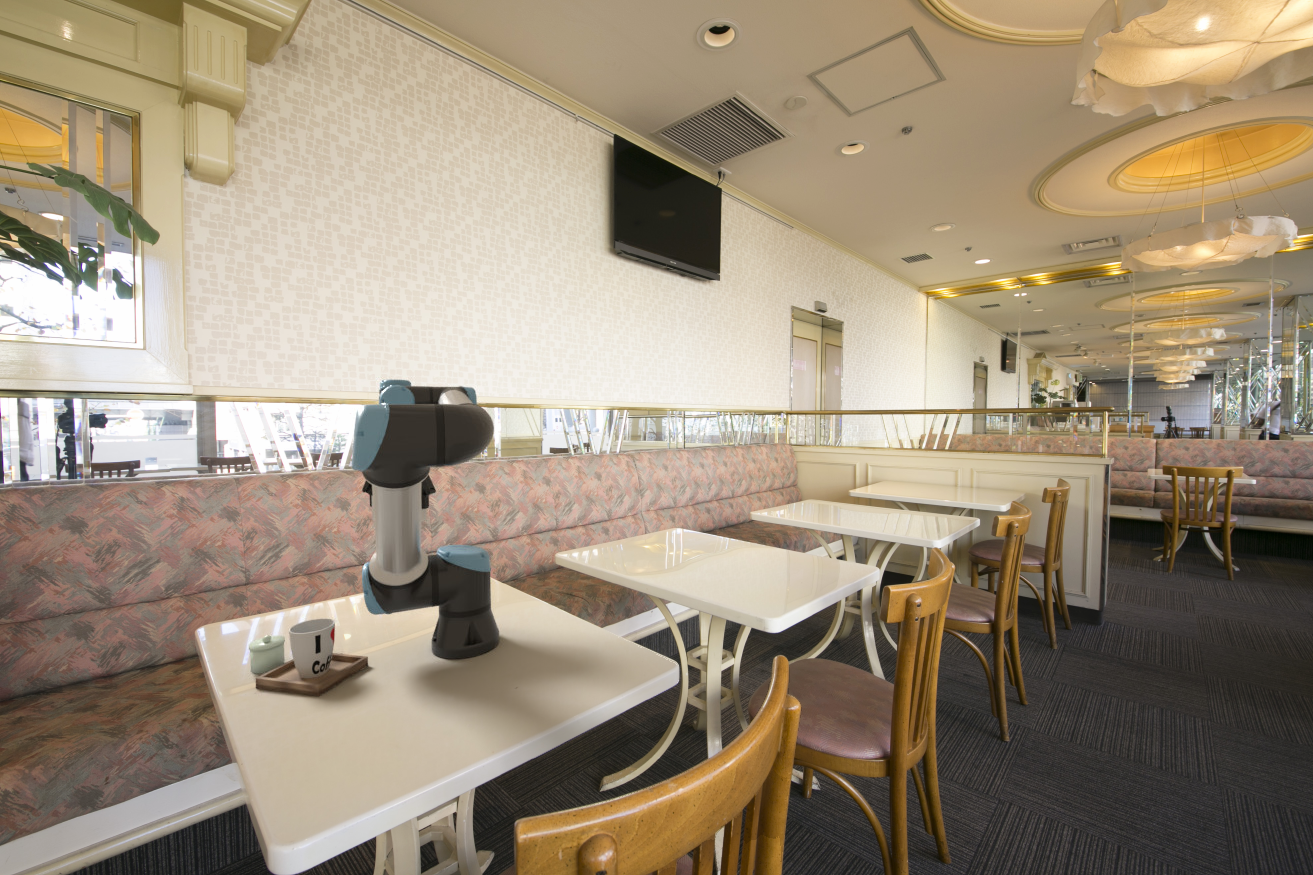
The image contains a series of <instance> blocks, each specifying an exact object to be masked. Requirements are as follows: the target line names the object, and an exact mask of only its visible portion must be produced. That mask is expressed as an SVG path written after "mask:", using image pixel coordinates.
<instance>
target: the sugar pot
mask: <svg viewBox="0 0 1313 875" xmlns="http://www.w3.org/2000/svg"><path fill="white" fill-rule="evenodd" d="M285 642H286V637H285V636H282V635H270V634H269V635H268V634H267V635H264V636H263V637H261V638H257V639H256V640H253V641H251V642H250V643H249V644H248V650H249V659H250V660H249V661H250V672H251V673H252V674H257V675H259V674H260V675H262V674H265V673H267V672H269V671H271V670H273V669H275V668H277V667H279V666H281V665H283V664H285V663H286V661H285V660H286V659H285Z"/></svg>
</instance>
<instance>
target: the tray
mask: <svg viewBox="0 0 1313 875" xmlns="http://www.w3.org/2000/svg"><path fill="white" fill-rule="evenodd" d="M368 666H369V656H365V655H364V656H363V655H355V654H345V653H338V652H337V653H336V652H333V654H332V659H331V663H330V666H329V669H328V671H327V672H326V673H325V674H323V675H321V676H318V677H315V678H308V679H305V678H301V677H300V676H299V673H298V671H297V669H296V667H295V664H294V660H293V658H292V659H291V660H288V661H287V662H286V661H285V664H283V665H281V666H279V667H277V668H275V669H273V670H271V671H269V672H267V673H262V674H260V675H259V676H257V677H256V678H255V688H256V689H260V690H261V689H262V690H267V691H277V692H285V693H291V694H299V695H306V696H313V697H314V696H315V697H320V696H321V695H324V694H325V693H326V692H328V691H330V690H332V689H333V688H335V687H336V686H338V685H340V684H341V683H343V682H344V681H346V680H347V679H349V678H351V677H352V676H354V675H356V674H357V673H359V672H361V671H362V670H364V669H365V668H367V667H368Z"/></svg>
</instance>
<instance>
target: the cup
mask: <svg viewBox="0 0 1313 875" xmlns="http://www.w3.org/2000/svg"><path fill="white" fill-rule="evenodd" d="M335 624H336V621H335V620H334V619H333V618H327V617H326V618H324V617H323V618H315V619H314V618H313V619H308V620H305V621H302V622H299V623H296V624H294V625H292V626H291V627H290V628H289V629H288V635H289V636H288V637H289V643H290V652H291V654H292V659H293V660H294V664H295V667H296V669H297V671H298V673H299V676H300V677H301V678H305V679H308V678H315V677H318V676H321V675H323V674H325V673H326V672H327V671H328V669H329V666H330V663H331V659H332V654H333V653H334V648H335V635H336V634H335V633H336V630H335V629H336V625H335Z"/></svg>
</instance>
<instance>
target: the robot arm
mask: <svg viewBox="0 0 1313 875" xmlns="http://www.w3.org/2000/svg"><path fill="white" fill-rule="evenodd" d="M378 392H379V396H378V404H377V403H376V404H364V405H362V406H360V407H359V408H358V409H357V410H356V413H355V422H354V430H353V432H354V433H353V444H352V458H351V468H352V470H354V471H357V472H361V474H362V477H363V478H364V480H365V482H364V485H363V486H362V489H361V490H362V493H366V494H367V495H368V496H369V507H370V508H371V519H372V521H373V523H374V525H373V526H374V539H375V540H374V541H375V552H374V553H373V555H372V556H371V558H370V560H369V561H367V562H365V563H364V564H363V566H362V572H361V583H362V584H361V585H362V592H363V599H364V604H365V606H366V609H367V611H368V612H369V613H370V614H371V615H375V616H376V615H392V614H395V613H401V612H407V611H409V612H410V611H414V610H420V609H428V608H433V607H438V618H437V621H436V625H435V628H434V630H433V634H432V638H431V653H433V655H435V656H437V657H440V658H443V659H450V660H451V659H456V660H457V659H466V658H472V657H476V656H479V655H483V654H485V653H488V652H490V651H492V650H493V649H495V648H496V647H497V646H498V645H499V643H500V630H499V628H498V624H497V622H496V619H495V616H494V614H493V610H492V591H491V590H492V588H491V586H492V585H491V583H492V582H491V572H492V567H491V559H490V554H489V552H488V550H486V549H484V548H483V547H480V546H477V545H469V544H448V545H442V546H440V547H438V548H437V551H436V554H427V552H426V551H425V550H424V549H423V548H422V523H423V522H426V521H428V512H427V511H428V509H429V507H430V496H431V495H433V494H436V492H437V491H436V490H437V489H436V488H435V486H434V484H433V481H432V479H431V476H430V472H431V468H438V467H439V468H443V467H453V466H458V465H461V464H464V463H467V462H469V461H471V460H473V459H475V458H476V457H477V456H480V454H481V453H483V452H484V451H485V450H486V449H487V448H488V447H489V445H490V444H491V441H492V440H493V438H494V433H495V427H494V426H495V425H494V422H493V419H492V417H491V415H490V414H489V412H488V411H487V410H486V409H485V408H483V406H480V405H478V402H477V400H478V399H477V398H478V397H477V392H476V390H475V388H473V387H471V386H469V387H468V386H460V385H459V386H427V385H426V386H425V385H424V386H421V385H416V386H415V385H412V383H411V381H409V380H407V379H383V380H380V382H379V390H378Z"/></svg>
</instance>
